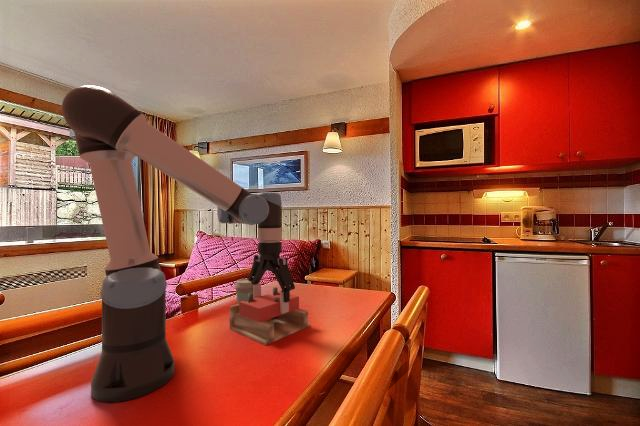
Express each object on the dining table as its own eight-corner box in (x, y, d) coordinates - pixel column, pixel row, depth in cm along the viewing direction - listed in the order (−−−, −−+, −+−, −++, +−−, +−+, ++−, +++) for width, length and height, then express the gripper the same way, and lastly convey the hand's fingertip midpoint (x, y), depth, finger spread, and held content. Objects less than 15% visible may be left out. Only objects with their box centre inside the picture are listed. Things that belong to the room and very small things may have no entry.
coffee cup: (261, 309, 109) (261, 278, 109) (254, 317, 100) (254, 283, 101) (240, 309, 110) (240, 277, 110) (231, 317, 101) (230, 282, 101)
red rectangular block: (259, 322, 82) (259, 305, 82) (239, 314, 89) (239, 298, 89) (299, 308, 94) (298, 293, 94) (278, 302, 101) (278, 288, 101)
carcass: (265, 345, 79) (265, 304, 79) (229, 328, 91) (229, 293, 91) (310, 325, 93) (310, 291, 93) (274, 313, 104) (273, 283, 104)
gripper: (306, 242, 87) (306, 313, 86) (255, 238, 103) (256, 298, 103) (287, 244, 81) (288, 320, 81) (237, 240, 97) (237, 303, 97)
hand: (270, 308), depth 92 cm, fingers open, 13 cm apart
